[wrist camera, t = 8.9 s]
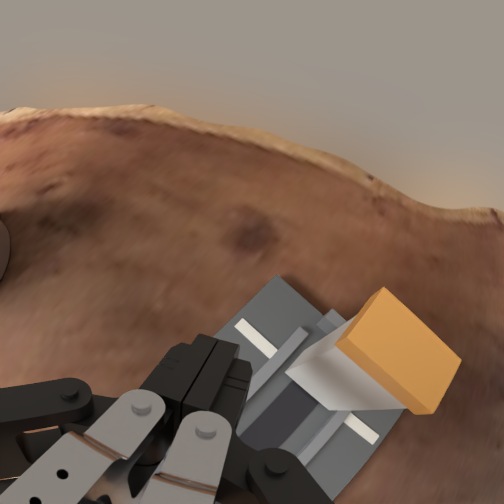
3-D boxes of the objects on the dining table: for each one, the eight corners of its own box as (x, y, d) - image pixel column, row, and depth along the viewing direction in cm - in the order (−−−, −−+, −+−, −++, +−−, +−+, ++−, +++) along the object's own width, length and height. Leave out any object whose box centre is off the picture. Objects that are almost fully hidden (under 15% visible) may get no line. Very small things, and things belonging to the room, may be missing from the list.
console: (228, 581, 13) (231, 601, 10) (82, 460, 16) (63, 467, 14) (405, 395, 21) (428, 392, 18) (273, 280, 24) (281, 262, 22)
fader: (329, 414, 19) (433, 413, 9) (280, 372, 20) (346, 337, 10) (351, 386, 20) (461, 360, 10) (303, 346, 21) (383, 286, 11)
